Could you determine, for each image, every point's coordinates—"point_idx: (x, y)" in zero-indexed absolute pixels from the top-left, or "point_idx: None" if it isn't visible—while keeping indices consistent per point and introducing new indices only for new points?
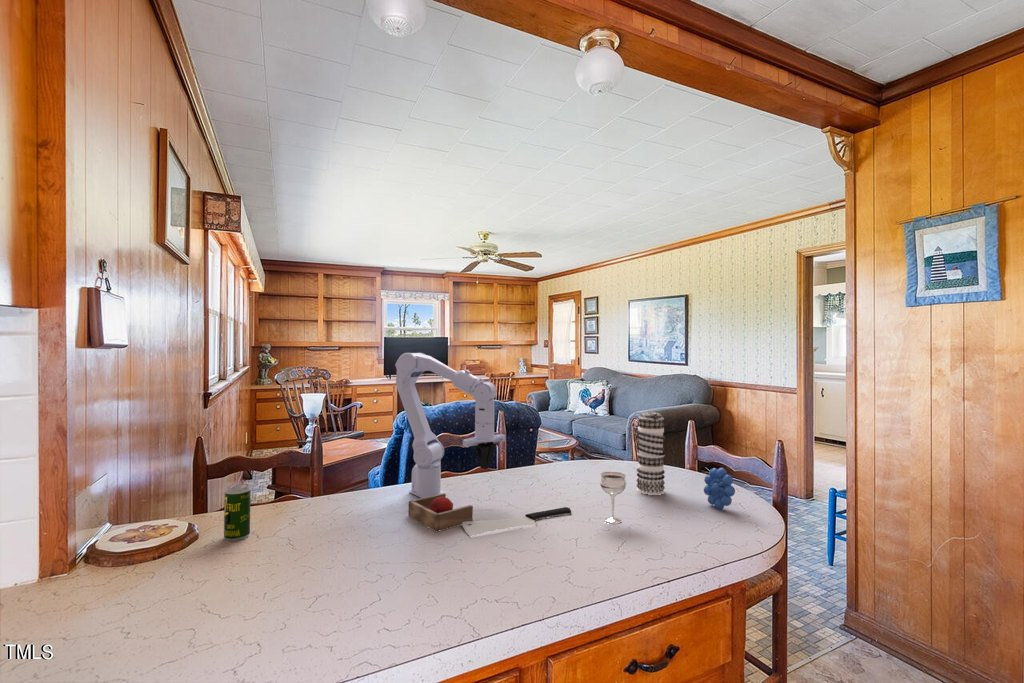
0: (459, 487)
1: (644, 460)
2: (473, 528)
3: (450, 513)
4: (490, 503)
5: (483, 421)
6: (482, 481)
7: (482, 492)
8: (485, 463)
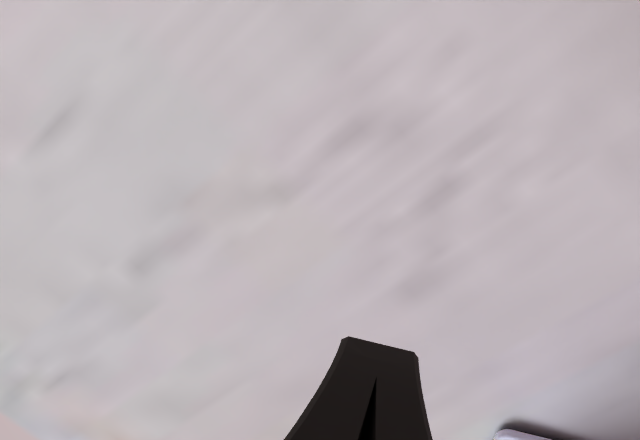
0: None
1: None
2: None
3: None
4: (454, 41)
5: None
6: (108, 393)
7: (271, 273)
8: (415, 418)
